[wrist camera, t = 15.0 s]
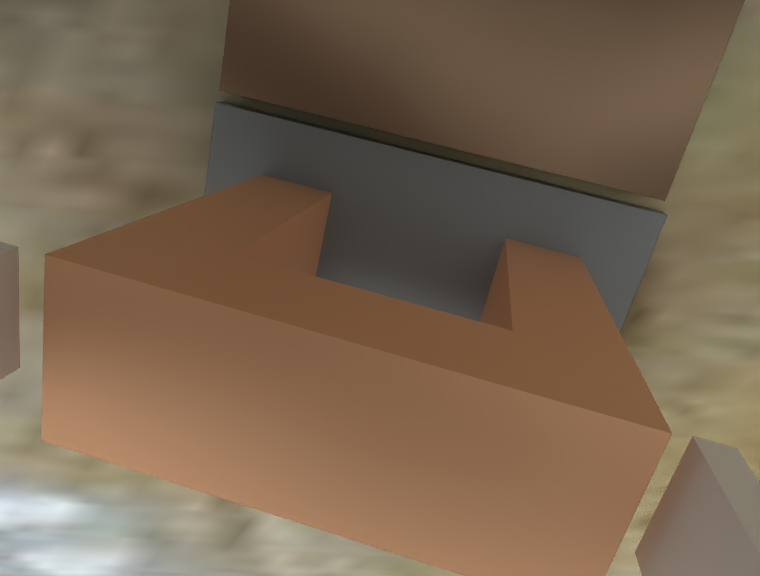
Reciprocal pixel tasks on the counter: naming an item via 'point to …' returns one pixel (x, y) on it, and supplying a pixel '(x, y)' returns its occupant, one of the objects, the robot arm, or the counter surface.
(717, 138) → the counter surface
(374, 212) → the mat
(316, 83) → the hook stand
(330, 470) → the orange notched block
